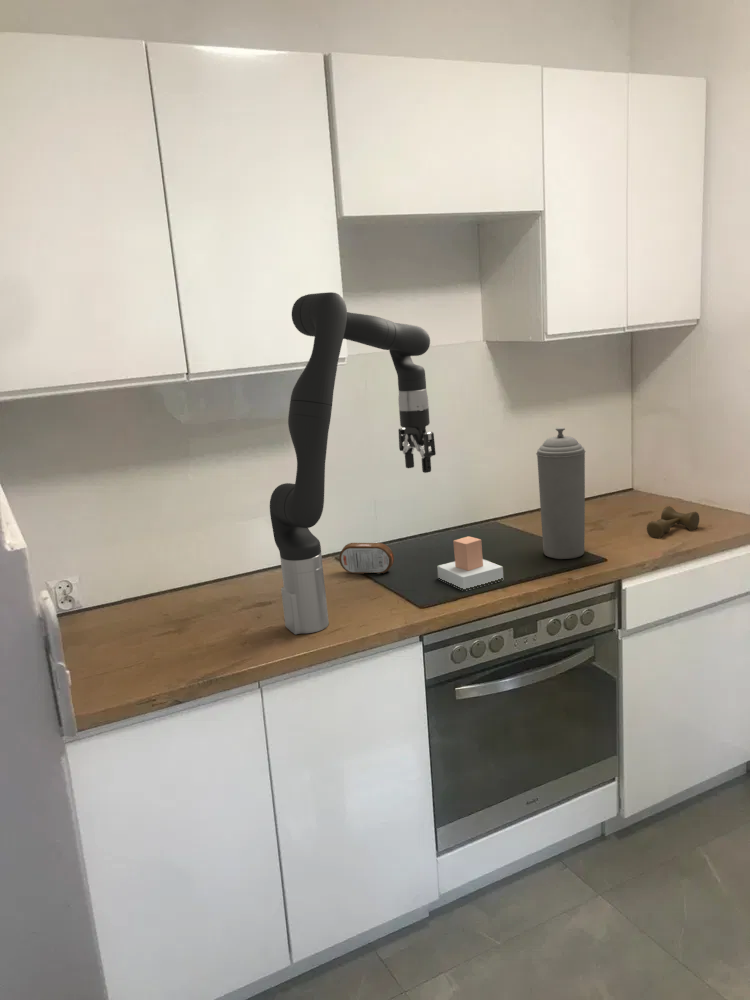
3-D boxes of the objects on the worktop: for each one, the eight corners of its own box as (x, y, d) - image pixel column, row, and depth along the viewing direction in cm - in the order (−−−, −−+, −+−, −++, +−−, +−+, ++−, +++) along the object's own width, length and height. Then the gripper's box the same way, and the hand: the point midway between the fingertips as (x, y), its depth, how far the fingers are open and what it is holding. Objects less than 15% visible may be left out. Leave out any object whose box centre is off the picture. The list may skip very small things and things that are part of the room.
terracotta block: (468, 570, 197) (466, 544, 196) (455, 566, 202) (453, 540, 200) (483, 565, 200) (481, 539, 198) (470, 562, 204) (468, 536, 203)
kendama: (638, 537, 226) (677, 520, 238) (668, 544, 219) (707, 525, 230) (638, 517, 225) (677, 501, 236) (668, 523, 217) (707, 506, 229)
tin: (395, 571, 213) (393, 541, 211) (392, 575, 210) (390, 545, 208) (342, 571, 217) (340, 542, 216) (339, 574, 215) (336, 545, 213)
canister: (542, 547, 223) (537, 425, 215) (588, 547, 219) (585, 422, 211) (538, 561, 211) (533, 432, 203) (587, 561, 207) (584, 430, 200)
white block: (464, 592, 194) (463, 577, 193) (438, 580, 204) (437, 565, 204) (503, 581, 199) (502, 566, 198) (476, 570, 210) (475, 556, 209)
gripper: (387, 407, 204) (392, 468, 208) (415, 411, 192) (420, 476, 195) (412, 404, 207) (416, 464, 211) (441, 407, 195) (445, 471, 199)
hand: (418, 470), depth 203 cm, fingers open, 8 cm apart
